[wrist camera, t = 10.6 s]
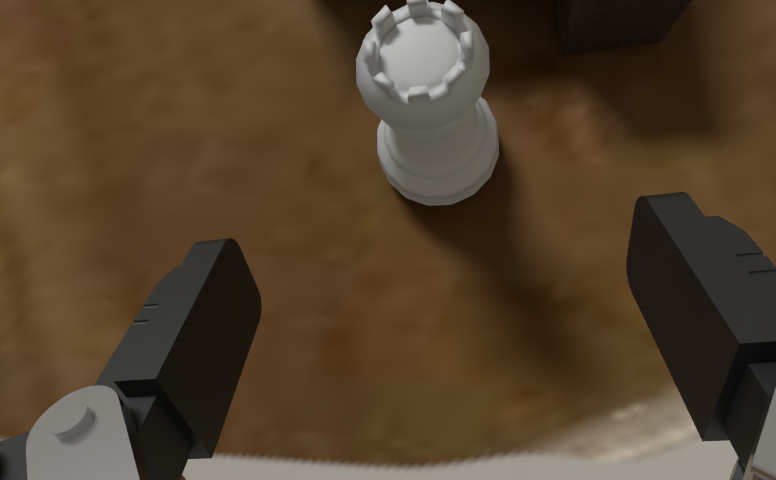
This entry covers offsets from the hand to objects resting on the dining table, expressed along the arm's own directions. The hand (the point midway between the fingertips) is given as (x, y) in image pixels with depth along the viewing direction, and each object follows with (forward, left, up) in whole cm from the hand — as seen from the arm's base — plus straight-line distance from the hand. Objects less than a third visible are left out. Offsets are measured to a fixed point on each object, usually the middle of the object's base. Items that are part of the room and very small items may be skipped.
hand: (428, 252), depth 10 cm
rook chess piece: (0, +5, -8) cm, 10 cm away
